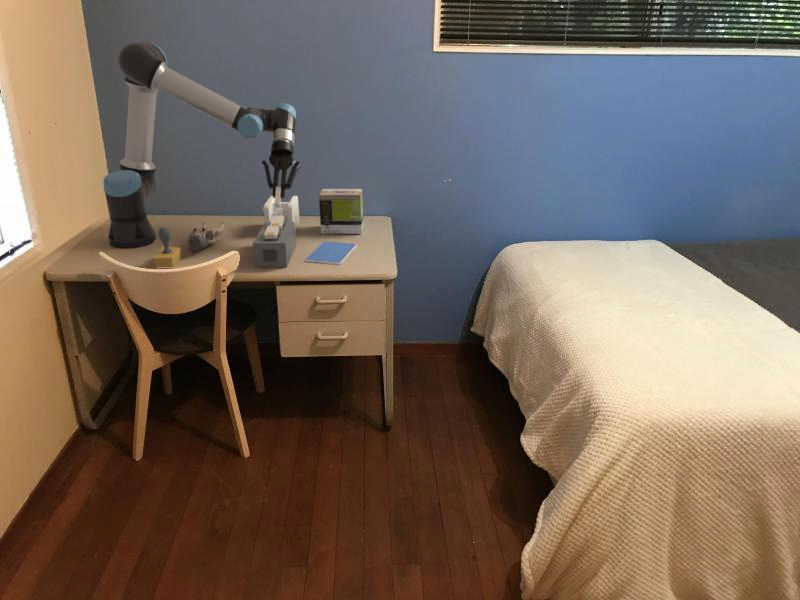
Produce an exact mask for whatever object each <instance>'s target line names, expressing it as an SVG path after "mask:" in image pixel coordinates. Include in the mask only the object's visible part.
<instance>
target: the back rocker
mask: <svg viewBox="0 0 800 600" xmlns="http://www.w3.org/2000/svg"><path fill="white" fill-rule="evenodd" d="M283 221H284V216H273V217H272V220H271V224H270V226H279V230H282V226H283Z"/></svg>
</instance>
